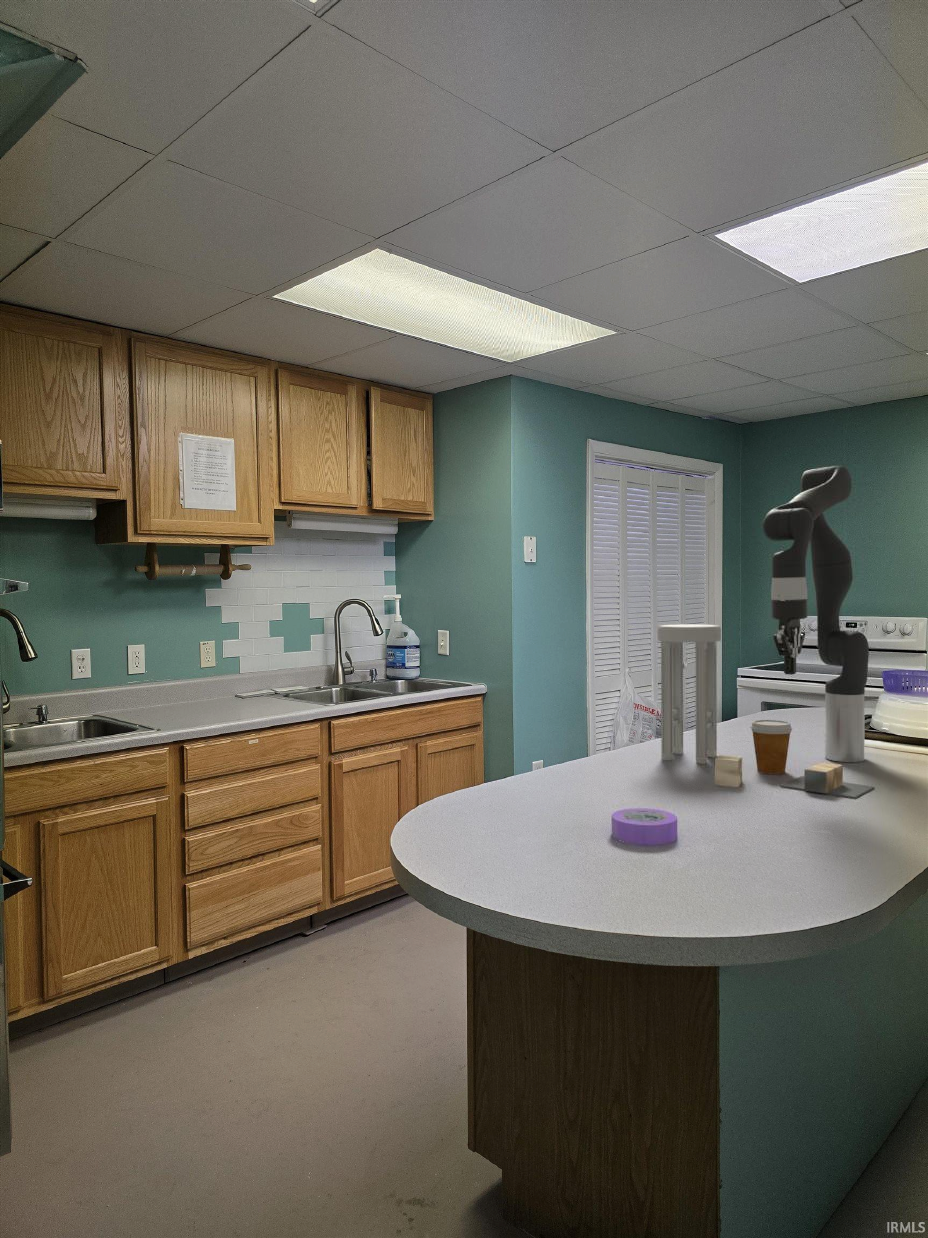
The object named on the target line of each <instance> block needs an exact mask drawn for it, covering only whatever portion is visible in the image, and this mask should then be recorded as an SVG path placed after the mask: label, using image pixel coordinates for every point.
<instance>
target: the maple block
mask: <svg viewBox="0 0 928 1238" xmlns="http://www.w3.org/2000/svg"><path fill="white" fill-rule="evenodd" d="M714 767H715V769H714V773H715V774H714V780H715V781H714V782H715V783H714V784H715V786H725V787H733V788H738V787H740V785H741V784H742V783H743V756H737V755H726V754H725V755H724V754H719V755H717V756H716V757H715V759H714Z"/></svg>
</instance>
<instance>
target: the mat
mask: <svg viewBox="0 0 928 1238" xmlns="http://www.w3.org/2000/svg"><path fill="white" fill-rule="evenodd" d="M779 787H780V788H786V789H793V790H798V791H805V792H811V793H816V794H817V793H818V794H823V795H829V796H830V795H831V796H836V797H841V798H849V799H854V800H856V799H857V798H859V797H861V796H864V795H865V794H866V793H868V792H871V791H872V790H874V789H875V786H873V785H866V784H859V783H854V782H853V783H852V782H847V781H846V782H845V781H843V785H841V786H839V787H837V788H835V789H833V790H831V791H829V792H827V793H821V792H815V791H809V790H804V775H801V776H798V777H796V778H793V779H791V780H789V781H787V782H786V781H785V782H784V783H781V784H780V785H779Z"/></svg>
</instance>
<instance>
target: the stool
mask: <svg viewBox="0 0 928 1238" xmlns="http://www.w3.org/2000/svg"><path fill="white" fill-rule="evenodd" d="M657 641H658V642H660V703H661V704H660V707H661V708H660V716H661V718H660V726H661V727H660V730H661V731H660V732H661V733H660V734H661V735H660V737H661V738H660V739H661V740H660V742H661V745H660V746H661V749H660V751H661V760H663V761H671V760H673V758H674V757H673V756H674V755H673V754H674V753H675V754H676V755H682V754H683V753H684V643H695V660H694V661H695V764H702V765H706V764H707V763H708V757H709V758H717V757H718V745H717V744H718V730H717V727H718V726H717V725H718V718H717V716H718V713H717V712H718V710H717V708H718V707H717V705H718V702H717V700H718V699H717V698H718V697H717V695H718V691H717V690H718V689H717V688H718V687H717V686H718V685H717V684H718V683H717V681H718V680H717V679H718V675H717V674H718V673H717V668H718V667H717V664H718V663H717V655H718V654H717V652H718V651H717V649H718V648H717V645H718V644H717V642H721V641H722V628H721V626H720V625H718V624H717V625H716V624H701V623H700V624H696V623H695V624H693V623H692V624H688V623H687V624H686V623H685V624H676V623H675V624H663V625H662V624H661V625H658V627H657Z"/></svg>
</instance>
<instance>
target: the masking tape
mask: <svg viewBox="0 0 928 1238" xmlns="http://www.w3.org/2000/svg"><path fill="white" fill-rule="evenodd" d="M611 836H612V837H613V838H614V839H615V838H616V839H615V840H617V839H618V840H617V841H619V840H621V841H620V842H622V841H624V842H623V843H625V842H628V843H627V844H629V843H630V844H631V845H635V846H637V845H638V846H664V845H668V844H672V843H674V842H676V841H677V840H678V816H677V815H676V814H675V813H672V812H670V811H667V810H663V809H656V808H643V807H642V808H639V807H638V808H637V807H636V808H633V807H632V808H626V809H624V808H623V809H620V810H617V811H614V812H612V814H611Z"/></svg>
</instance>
